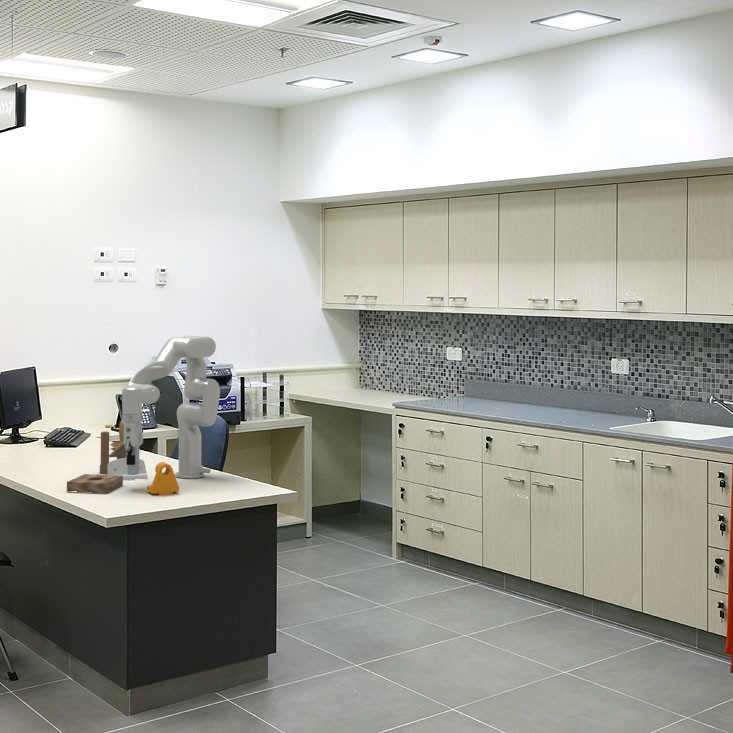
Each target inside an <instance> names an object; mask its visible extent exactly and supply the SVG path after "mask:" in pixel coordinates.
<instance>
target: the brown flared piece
mask: <svg viewBox="0 0 733 733" xmlns="http://www.w3.org/2000/svg"><path fill="white" fill-rule="evenodd" d="M118 435H119V441H114V442H111V443H109V446H111V447H112V448H114V449H116V448H117V447H118V446H119V445H120V444H121V443H122V442H123V441H124V422H123V419H122V420H120V421H119V426H118Z"/></svg>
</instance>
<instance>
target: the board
mask: <svg viewBox="0 0 733 733" xmlns="http://www.w3.org/2000/svg"><path fill="white" fill-rule="evenodd" d="M123 483H124V481H123V476H116V475H107V474H92V473H91V474H89V473H84V474H82V475H80V476H78V477H75V478H73V479H72V478H71V480H68V481H66V492H67V491H77V492H92V493H91V494H97V493H105V494H104V495H107V493H108V494H110V493H112V492H113V491H115V490H117V489H119V488H120V487H123V486H124V484H123Z"/></svg>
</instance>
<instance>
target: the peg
mask: <svg viewBox="0 0 733 733" xmlns="http://www.w3.org/2000/svg"><path fill="white" fill-rule="evenodd" d="M130 447H132V446H131V445H130ZM131 450H132V449H131ZM134 455H135V465H127V455H126V465H127V474H128V475H137V474H138V473H139V463H140V462H139V459H140V446H138V447H136V448H135V447H134Z"/></svg>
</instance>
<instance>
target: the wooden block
mask: <svg viewBox="0 0 733 733" xmlns="http://www.w3.org/2000/svg"><path fill="white" fill-rule="evenodd" d="M110 458H116V459H120V458H126V450H125V446H124V441H123V442H122V443H121V444H120V445H119V446H118V447H117V448H114V450H112V452H111V453H110V432H109V431H106V430H105V431H101V432H100V464H99V474H100V475H107V465H108V463H109V462H110Z"/></svg>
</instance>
